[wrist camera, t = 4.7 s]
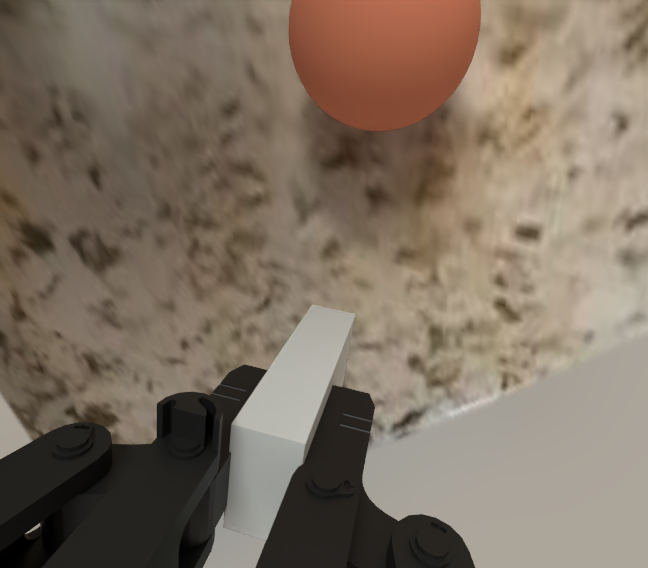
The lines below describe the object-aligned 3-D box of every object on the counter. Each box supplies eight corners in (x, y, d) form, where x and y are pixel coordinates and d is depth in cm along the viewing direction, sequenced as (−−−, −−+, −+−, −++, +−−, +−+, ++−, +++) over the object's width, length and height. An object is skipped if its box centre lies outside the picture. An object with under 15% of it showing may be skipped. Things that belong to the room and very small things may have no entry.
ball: (304, 119, 18) (253, 115, 13) (323, -52, 16) (272, -146, 11) (448, 141, 17) (461, 146, 12) (489, -37, 15) (527, -132, 10)
